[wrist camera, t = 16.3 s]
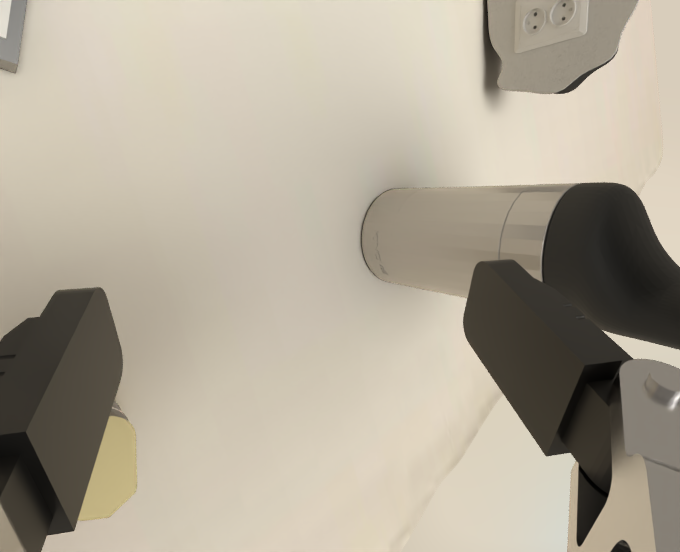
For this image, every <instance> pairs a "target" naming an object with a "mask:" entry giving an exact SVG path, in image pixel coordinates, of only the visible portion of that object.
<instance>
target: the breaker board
mask: <svg viewBox="0 0 680 552" xmlns="http://www.w3.org/2000/svg"><path fill="white" fill-rule="evenodd" d="M26 4H27V0H0V68H1V69H4V70H7V71H10V72H13V73H16V69H17V65H18V59H19V52H20V45H21V38H22V31H23V25H24V18H25V11H26Z"/></svg>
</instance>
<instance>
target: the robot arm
mask: <svg viewBox="0 0 680 552" xmlns="http://www.w3.org/2000/svg"><path fill="white" fill-rule="evenodd" d="M362 248H363V254H364V257H365V260H366V263H367V265H368V266H369V268H370V270H371V271H372V272H373V273H374V274H375V276H377V277H378V278H380V279H381V280H383V281H386V282H390V283H395V284H400V285H405V286H410V287H415V288H419V289H424V290H429V291H434V292H439V293H444V294H449V295H454V296H459V297H464V298H467V303H466V307H465V312H464V317H463V326H464V332H465V336H466V338H467V341H468V342H469V344H470V345H471V347H472V348H473V350H474V351H475V353H476V354H477V356H478V357H479V359H480V360H481V362H482V363H483V364H484V366H485V367H486V369H487V370H488V372H489V373H490V375H491V376H492V378H493V379H494V381H495V382H496V384H497V385H498V387H499V388H500V389H501V391H502V392H503V394H504V395H505V396H506V398H507V400H508V401H509V403H510V404H511V406H512V407H513V409H514V410H515V411H516V413H517V414H518V416H519V417H520V419H521V420H522V422H523V423H524V425H525V426H526V428H527V429H528V430H529V432H530V433H531V435H532V436H533V438H534V439H535V441H536V442H537V444H538V445H539V447H540V448H541V450H542V451H543V453H544V454H545V455H546V456H552V455H558V454H564V453H571V454H572V455H573V457H574V458H575V459H576V462H575V464H574V466H573V468H572V470H571V484H570V504H569V526H568V546H567V552H680V369H678V368H676V367H674V366H671V365H669V364H666V363H663V362H659V361H655V360H648V359H633V358H632V357H631V356H630V355H628V354H627V353H626V352H625V351H624V350H623V349H622V348H621V347H620V346H618V345H617V344H616V343H615V342H614V341H613V340H612V339H611V338H609V337H608V336H607V335H606V334H605V333H604V332H603V331H602V330H604V331H607V332H610V333H614V334H618V335H622V336H626V337H630V338H635V339H639V340H643V341H648V342H651V343H655V344H659V345H663V346H668V347H671V348H675V349H679V350H680V267H679V266H678V265H677V264H676V263H675V262H674V261H673V260H672V259H671V258H670V256H669V255H668V254H667V252H666V251H665V250H664V248H663V247H662V245H661V244H660V242H659V240H658V238H657V236H656V234H655V232H654V230H653V227H652V225H651V222H650V220H649V218H648V215H647V213H646V210H645V207H644V206H643V203H642V201H641V200H640V198H639V197H638V195H637V194H636V193H635V192H634V191H633V190H632V189H630V188H629V187H627V186H625V185H622V184H618V183H605V182H603V183H580V184H579V183H574V184H539V185H511V186H475V187H439V188H399V189H391V190H388V191H386V192H384V193H383V194H381V195H380V196H379V197H378V198H377V199H376V200H375V201H374V202H373V204H372V205H371V207H370V209H369V210H368V212H367V215H366V218H365V220H364V224H363V230H362ZM122 368H123V359H122V350H121V346H120V342H119V339H118V335H117V332H116V328H115V325H114V321H113V317H112V314H111V310H110V307H109V303H108V300H107V297H106V294H105V292H104V290H103V289H102V288H100V287H97V288H82V289H68V290H58V291H56V292H55V293H54V295H53V296H52V298H51V300H50V301H49V303H48V304H47V306H46V308H45V309H44V311H43V312H42V314H41V316H40V317H35V318H28V319H26V320H25V321H24V322H22V323H21V324H20V325H18V326H17V327H16V328H14V329H13V330H12V331H10V332H9V333H8V334H6V335H5V336H4V337H3V338H2V340H1V341H0V552H41V550H42V547H43V545H44V542H45V539H46V536H47V535H53V534H59V533H65V532H71V531H74V530H75V527H76V524H77V520H78V517H79V514H80V511H81V507H82V504H83V501H84V497H85V494H86V491H87V488H88V484H89V481H90V478H91V475H92V471H93V468H94V465H95V462H96V458H97V455H98V452H99V448H100V445H101V442H102V439H103V435H104V432H105V429H106V426H107V422H108V419H109V416H110V413H111V409H112V406H113V403H114V399H115V396H116V393H117V390H118V386H119V383H120V380H121V376H122Z"/></svg>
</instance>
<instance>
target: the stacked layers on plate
mask: <svg viewBox="0 0 680 552" xmlns="http://www.w3.org/2000/svg"><path fill="white" fill-rule="evenodd" d="M136 488H137V466H136V434H135V430H134V428H133V426H132V425H131V424H130V423H129V421H128V419H127V417H126V416H125V414H124V413H123V412H122V411H121V409H120V407H119V405H118V404H117V403H116V401H115V400H114V403H113V406H112V409H111V413H110V416H109V419H108V422H107V426H106V429H105V432H104V435H103V439H102V442H101V445H100V448H99V452H98V455H97V458H96V462H95V465H94V468H93V471H92V475H91V478H90V481H89V484H88V488H87V491H86V494H85V497H84V501H83V504H82V507H81V511H80V514H79V517H78V520H80V521H85V520H93V519H101V518H108V517H110V516H111V515H112V514H113V513H114V512H115V511H116V510H117V509H119V508H120V507H121V506H122V505H123V504H124V503H125V502H126V501H127V500H128V499H129V498H130V497H131V496H132V495H133V494H134V493H135V492H136Z"/></svg>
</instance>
